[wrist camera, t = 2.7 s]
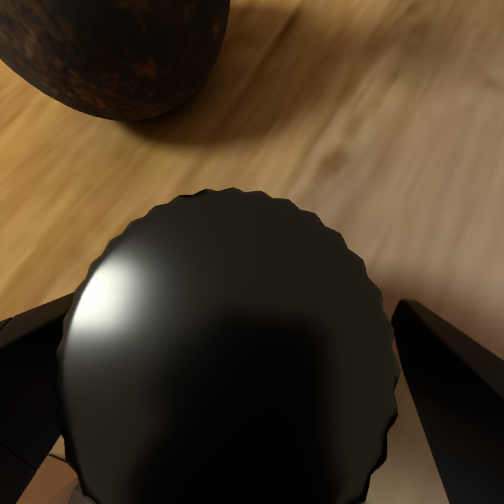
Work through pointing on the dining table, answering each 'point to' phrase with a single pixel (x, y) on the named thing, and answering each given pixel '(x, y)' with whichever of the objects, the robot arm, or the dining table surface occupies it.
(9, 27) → the glass bottle
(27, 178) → the dining table surface
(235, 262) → the supplement bottle
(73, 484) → the frying pan
